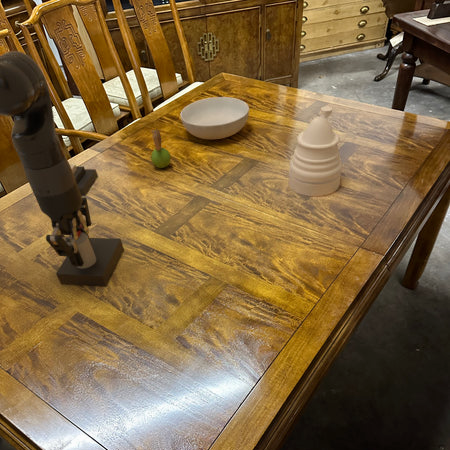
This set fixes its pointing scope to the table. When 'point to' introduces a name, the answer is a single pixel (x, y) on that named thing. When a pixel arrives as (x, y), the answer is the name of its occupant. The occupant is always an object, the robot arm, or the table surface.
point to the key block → (85, 179)
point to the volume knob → (84, 250)
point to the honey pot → (316, 159)
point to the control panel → (97, 273)
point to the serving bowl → (215, 117)
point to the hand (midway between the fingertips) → (83, 256)
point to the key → (73, 168)
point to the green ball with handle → (159, 152)
